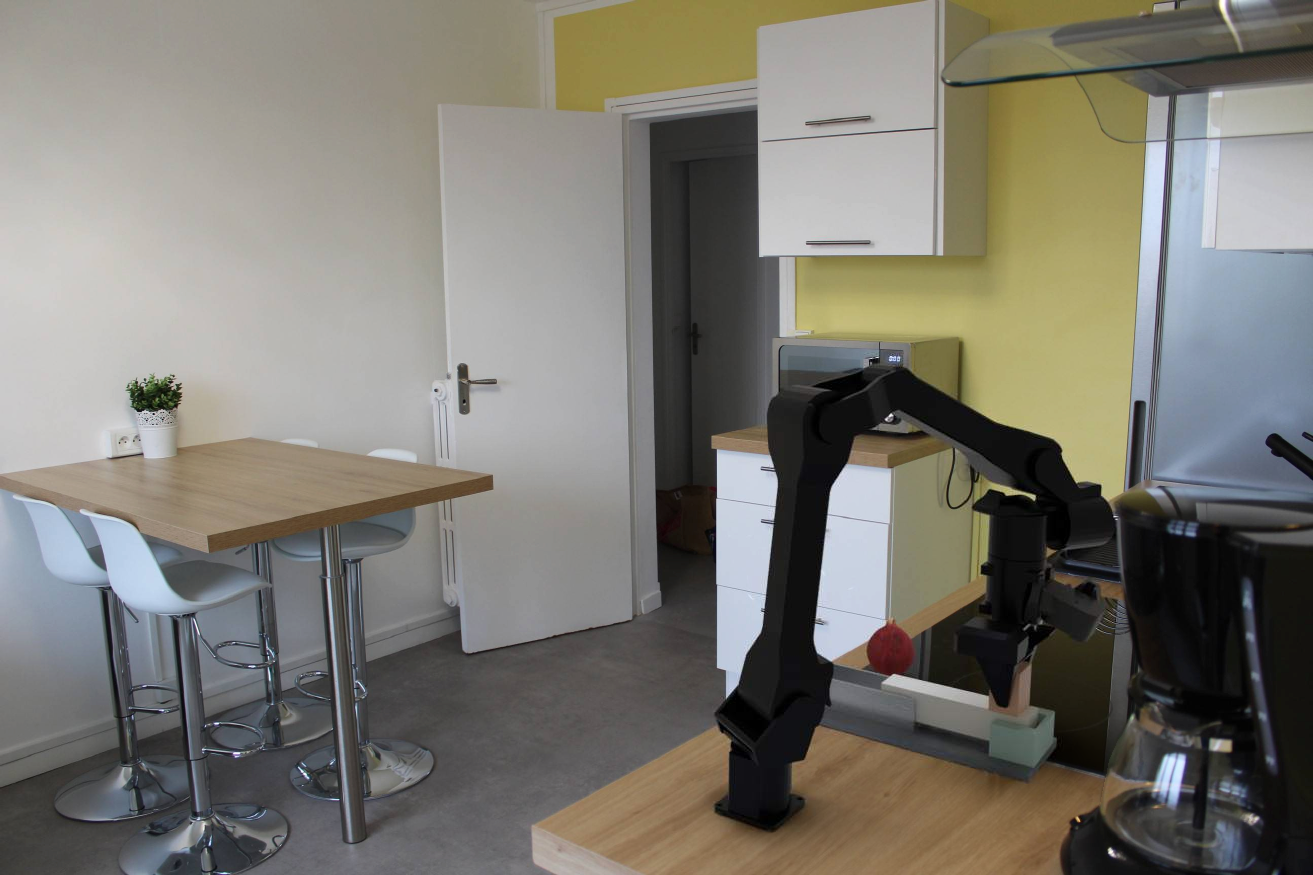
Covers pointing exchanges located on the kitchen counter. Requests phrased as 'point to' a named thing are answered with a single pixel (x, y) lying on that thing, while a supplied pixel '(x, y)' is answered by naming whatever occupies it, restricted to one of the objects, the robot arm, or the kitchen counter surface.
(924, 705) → the sliding bolt
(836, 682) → the frame
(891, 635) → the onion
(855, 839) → the kitchen counter surface
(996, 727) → the socket
